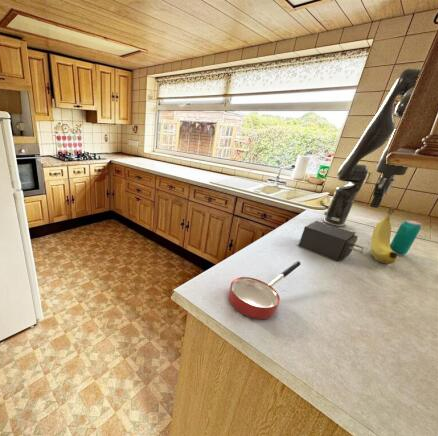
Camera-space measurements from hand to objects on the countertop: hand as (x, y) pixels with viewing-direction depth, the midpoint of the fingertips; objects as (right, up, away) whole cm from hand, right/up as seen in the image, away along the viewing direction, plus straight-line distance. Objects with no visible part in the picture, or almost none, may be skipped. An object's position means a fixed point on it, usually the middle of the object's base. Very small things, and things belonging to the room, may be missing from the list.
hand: (374, 207), depth 86 cm
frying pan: (-46, -27, -12) cm, 55 cm away
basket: (-5, -18, +13) cm, 23 cm away
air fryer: (-7, -18, +16) cm, 25 cm away
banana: (+14, -21, +12) cm, 28 cm away
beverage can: (+26, -20, +16) cm, 36 cm away
